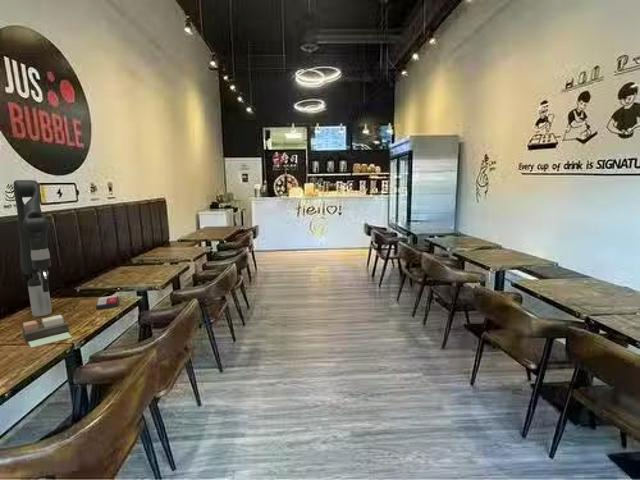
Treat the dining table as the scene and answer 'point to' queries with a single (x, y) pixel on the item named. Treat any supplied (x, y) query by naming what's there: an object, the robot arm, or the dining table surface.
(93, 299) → the dining table surface
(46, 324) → the cream tile
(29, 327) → the salmon pink block
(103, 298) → the red and white box
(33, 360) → the dining table surface
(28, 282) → the robot arm
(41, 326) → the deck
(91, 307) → the dining table surface
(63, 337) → the mat
